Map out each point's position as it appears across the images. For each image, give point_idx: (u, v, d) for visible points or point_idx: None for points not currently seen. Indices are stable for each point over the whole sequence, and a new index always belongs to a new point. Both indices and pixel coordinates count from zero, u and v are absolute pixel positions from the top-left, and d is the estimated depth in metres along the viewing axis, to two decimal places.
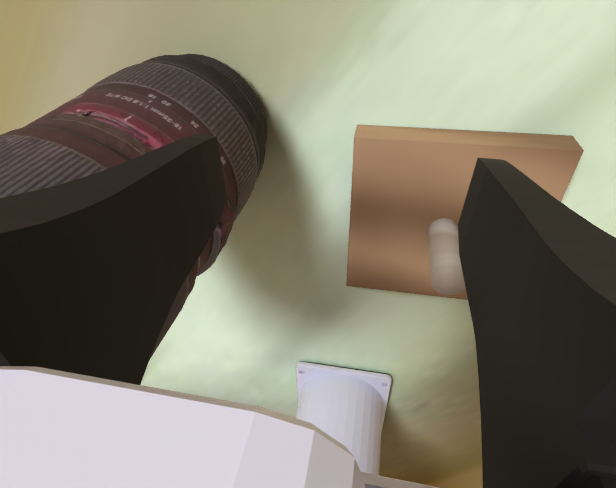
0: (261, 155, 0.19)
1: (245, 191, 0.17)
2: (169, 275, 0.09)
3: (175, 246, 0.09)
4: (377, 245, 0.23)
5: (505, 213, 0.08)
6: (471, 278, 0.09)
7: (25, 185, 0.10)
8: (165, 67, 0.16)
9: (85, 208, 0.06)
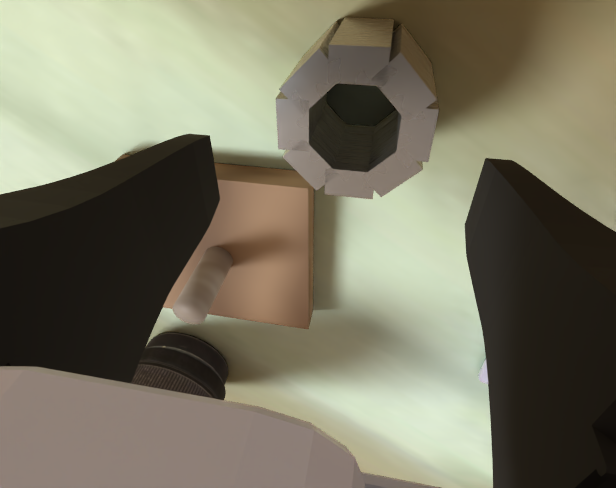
0: (170, 357, 0.28)
1: None
2: (161, 274, 0.09)
3: (167, 245, 0.09)
4: (250, 302, 0.24)
5: (515, 214, 0.08)
6: (479, 279, 0.09)
7: None
8: None
9: (73, 207, 0.06)
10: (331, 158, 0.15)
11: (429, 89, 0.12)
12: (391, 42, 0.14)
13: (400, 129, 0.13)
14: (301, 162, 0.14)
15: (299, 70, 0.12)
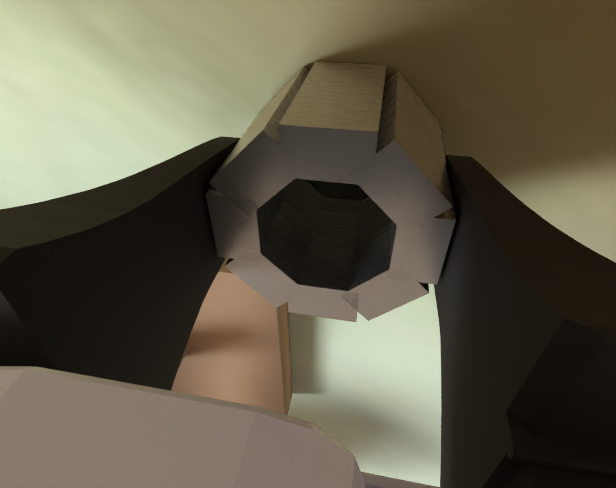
0: None
1: None
2: (198, 279, 0.09)
3: (204, 250, 0.09)
4: (213, 392, 0.19)
5: (464, 209, 0.08)
6: None
7: None
8: None
9: (126, 213, 0.06)
10: (296, 265, 0.10)
11: (440, 192, 0.08)
12: (382, 105, 0.09)
13: (395, 242, 0.09)
14: (252, 274, 0.10)
15: (236, 158, 0.08)
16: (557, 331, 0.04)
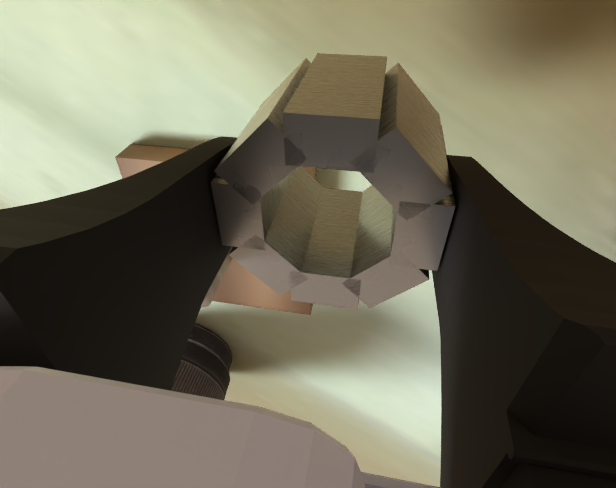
0: None
1: None
2: (198, 279, 0.09)
3: (204, 250, 0.09)
4: (253, 289, 0.25)
5: (464, 209, 0.08)
6: (438, 273, 0.09)
7: None
8: None
9: (127, 213, 0.06)
10: (299, 254, 0.10)
11: (440, 178, 0.08)
12: (382, 95, 0.09)
13: (396, 229, 0.09)
14: (256, 262, 0.10)
15: (241, 147, 0.08)
16: (557, 331, 0.04)
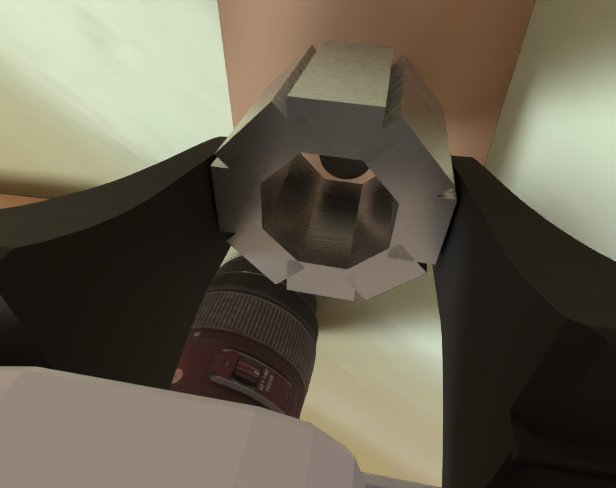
0: (257, 283, 0.21)
1: (248, 321, 0.19)
2: (196, 279, 0.09)
3: (202, 250, 0.09)
4: None
5: (466, 209, 0.08)
6: (439, 274, 0.09)
7: None
8: None
9: (124, 212, 0.06)
10: (297, 243, 0.10)
11: (444, 170, 0.08)
12: None
13: (396, 220, 0.09)
14: (253, 249, 0.10)
15: (243, 130, 0.08)
16: (560, 332, 0.04)
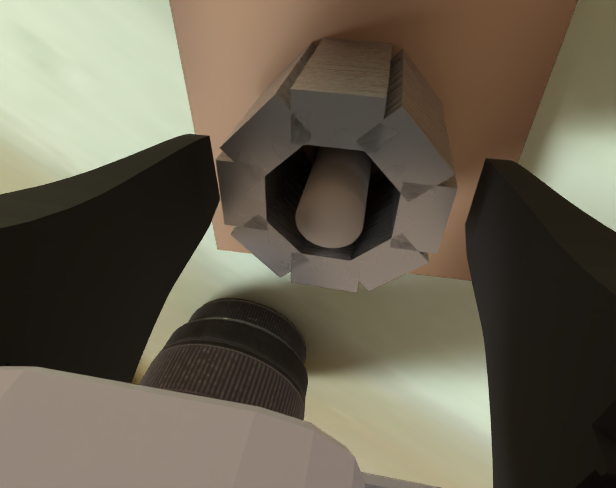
0: (238, 333, 0.18)
1: (227, 383, 0.16)
2: (161, 274, 0.09)
3: (167, 245, 0.09)
4: None
5: (515, 214, 0.08)
6: (479, 278, 0.09)
7: None
8: None
9: (73, 207, 0.06)
10: (300, 236, 0.10)
11: (444, 159, 0.08)
12: None
13: (398, 210, 0.09)
14: (257, 242, 0.10)
15: (247, 123, 0.08)
16: None
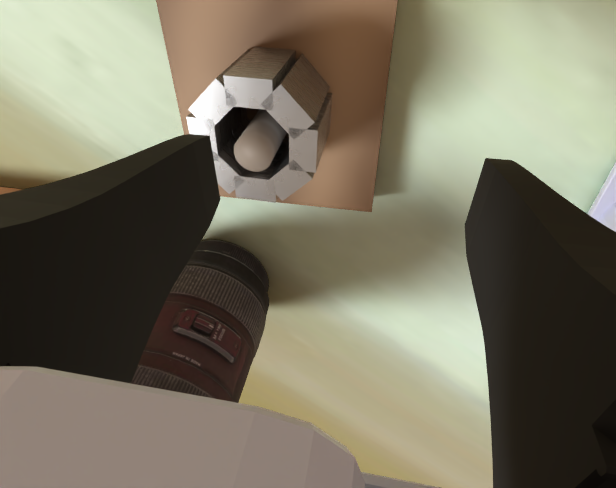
0: (215, 259, 0.25)
1: (206, 288, 0.23)
2: (161, 274, 0.09)
3: (167, 245, 0.09)
4: None
5: (515, 214, 0.08)
6: (479, 278, 0.09)
7: None
8: None
9: (73, 206, 0.06)
10: (240, 167, 0.17)
11: (308, 114, 0.15)
12: (287, 71, 0.16)
13: (289, 145, 0.16)
14: None
15: (202, 94, 0.15)
16: None
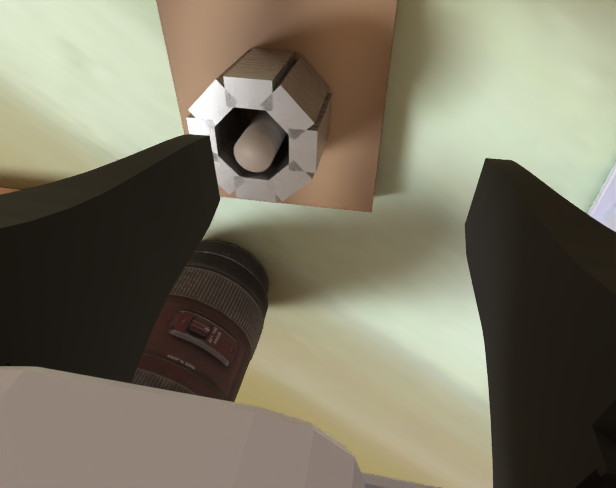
0: (214, 261, 0.25)
1: (204, 290, 0.23)
2: (161, 274, 0.09)
3: (167, 245, 0.09)
4: None
5: (515, 214, 0.08)
6: (479, 278, 0.09)
7: None
8: None
9: (73, 207, 0.06)
10: (240, 167, 0.17)
11: (307, 114, 0.15)
12: (287, 72, 0.16)
13: (289, 146, 0.16)
14: None
15: (202, 95, 0.15)
16: None
